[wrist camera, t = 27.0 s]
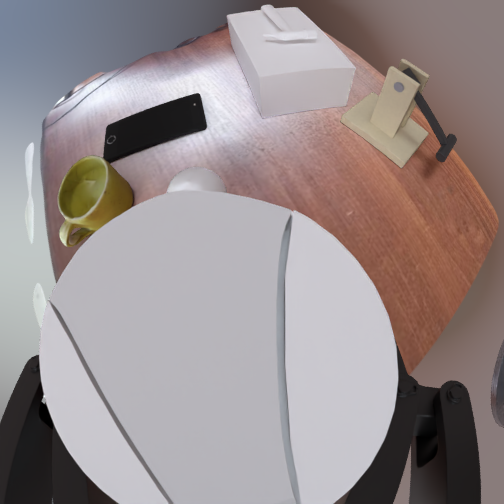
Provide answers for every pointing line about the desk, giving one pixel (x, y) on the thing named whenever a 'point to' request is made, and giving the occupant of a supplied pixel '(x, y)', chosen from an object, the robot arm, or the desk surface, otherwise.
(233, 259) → the coffee cup
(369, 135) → the lever base
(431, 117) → the black lever
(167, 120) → the cell phone
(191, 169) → the white sphere
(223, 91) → the desk surface
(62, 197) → the mug
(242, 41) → the hammer on box
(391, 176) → the desk surface
